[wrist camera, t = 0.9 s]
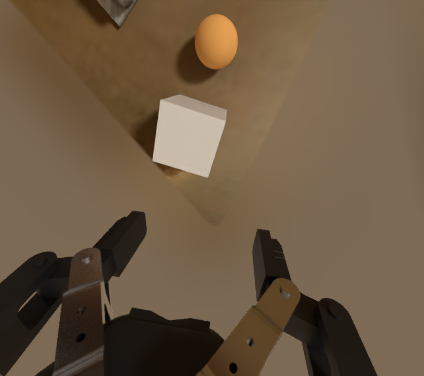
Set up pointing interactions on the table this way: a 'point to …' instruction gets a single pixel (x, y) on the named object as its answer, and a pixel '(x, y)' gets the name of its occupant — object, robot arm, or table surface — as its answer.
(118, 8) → the packaged product
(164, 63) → the table surface
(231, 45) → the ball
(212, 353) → the robot arm
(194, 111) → the white foam cube
